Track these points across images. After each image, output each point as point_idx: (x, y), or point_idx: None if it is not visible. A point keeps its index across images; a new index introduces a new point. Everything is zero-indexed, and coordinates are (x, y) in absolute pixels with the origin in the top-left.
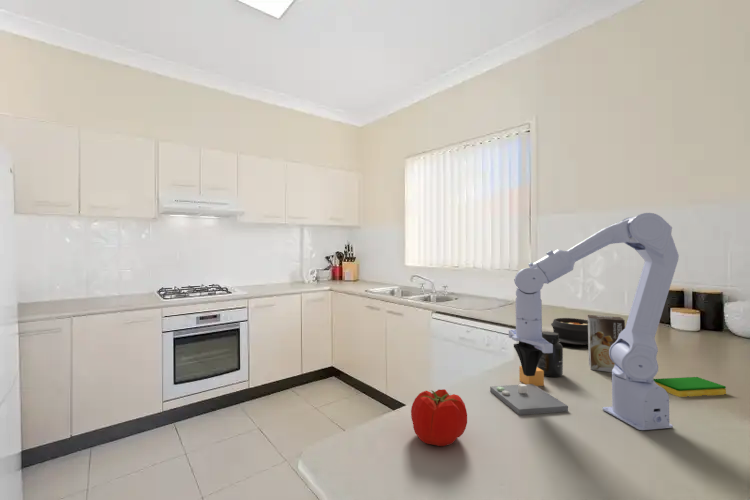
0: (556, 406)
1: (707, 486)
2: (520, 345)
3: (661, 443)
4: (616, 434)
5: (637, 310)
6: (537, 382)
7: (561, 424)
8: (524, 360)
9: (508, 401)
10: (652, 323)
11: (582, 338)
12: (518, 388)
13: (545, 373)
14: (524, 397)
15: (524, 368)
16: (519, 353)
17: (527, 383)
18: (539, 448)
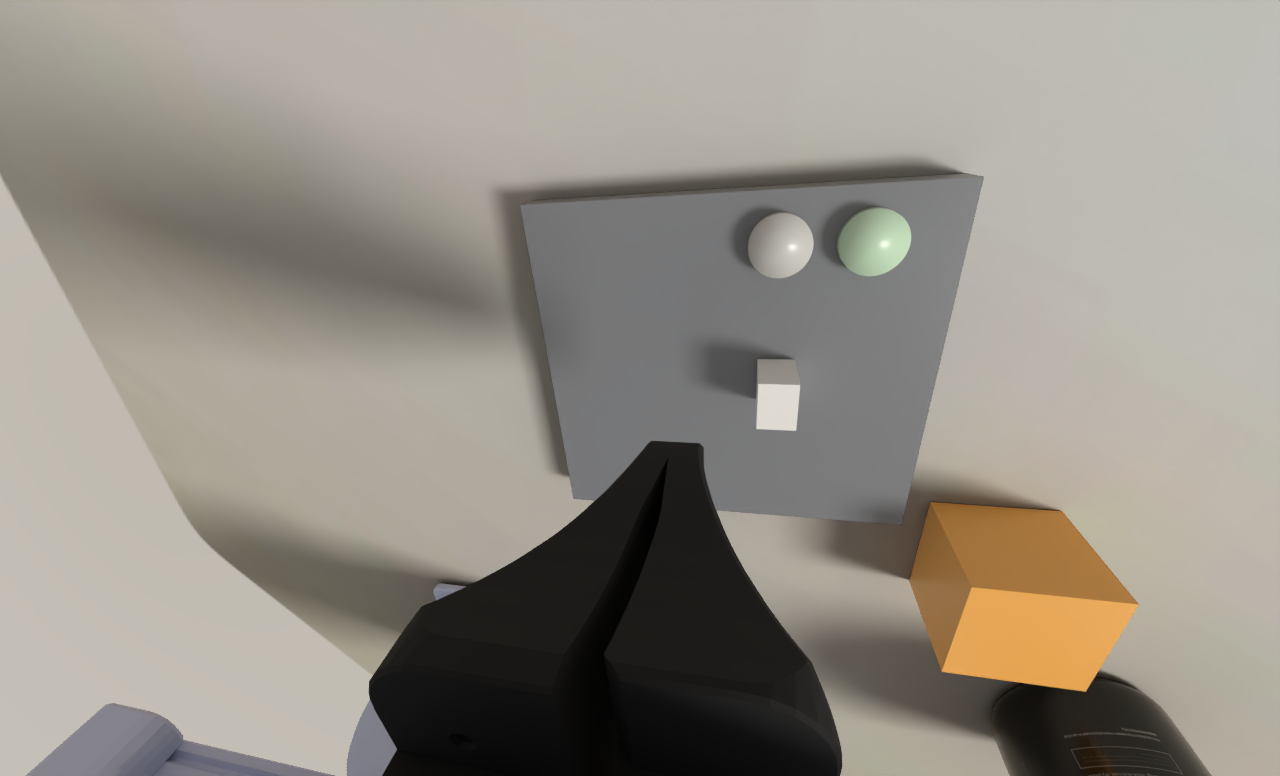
0: (567, 445)
1: (193, 497)
2: (676, 752)
3: (375, 571)
4: (405, 504)
5: None
6: (925, 567)
7: (452, 368)
8: (592, 527)
9: (652, 196)
10: None
11: None
12: (791, 369)
13: (1050, 691)
14: (698, 348)
15: (649, 470)
16: (670, 582)
17: (953, 513)
18: (200, 112)
